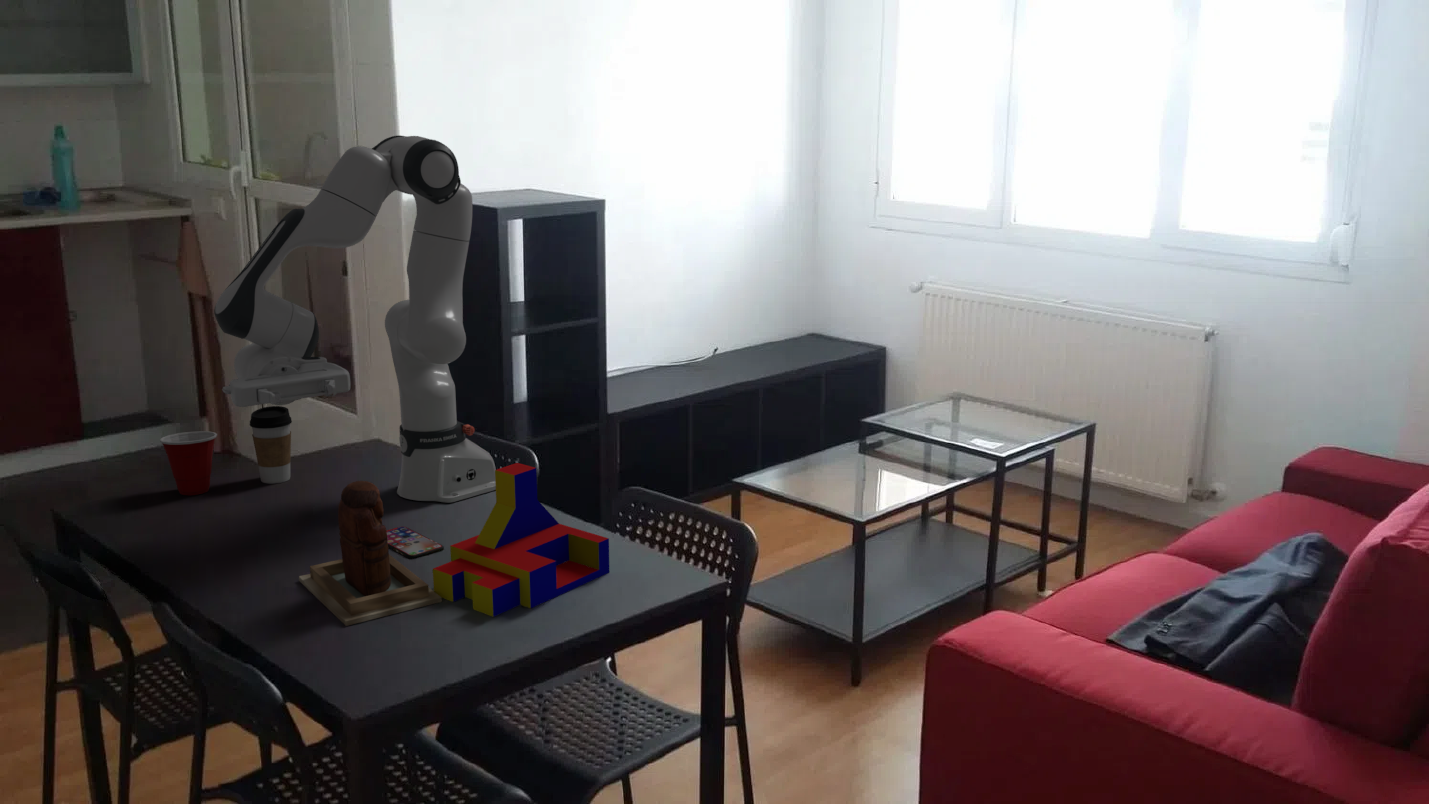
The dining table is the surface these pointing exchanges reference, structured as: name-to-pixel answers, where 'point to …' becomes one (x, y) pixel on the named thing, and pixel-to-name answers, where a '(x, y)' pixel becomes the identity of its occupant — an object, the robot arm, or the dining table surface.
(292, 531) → the dining table surface
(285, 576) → the dining table surface
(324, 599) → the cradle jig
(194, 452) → the plastic cup
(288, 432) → the coffee cup
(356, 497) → the wooden figurine
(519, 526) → the building blocks toy
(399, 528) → the smartphone
